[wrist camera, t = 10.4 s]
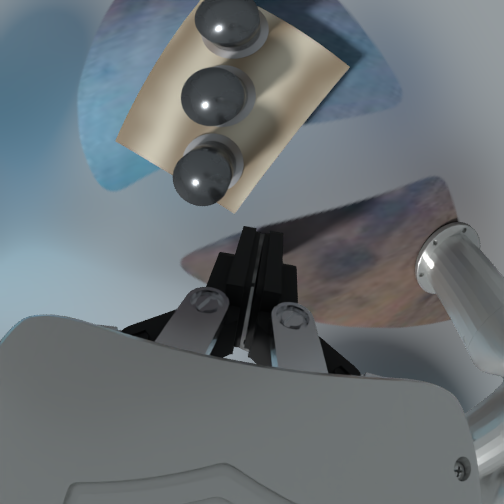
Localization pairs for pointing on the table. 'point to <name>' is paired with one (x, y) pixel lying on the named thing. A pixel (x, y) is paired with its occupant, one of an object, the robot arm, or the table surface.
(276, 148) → the mount plate
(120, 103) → the table surface
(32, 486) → the robot arm
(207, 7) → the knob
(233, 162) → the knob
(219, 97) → the knob mid
